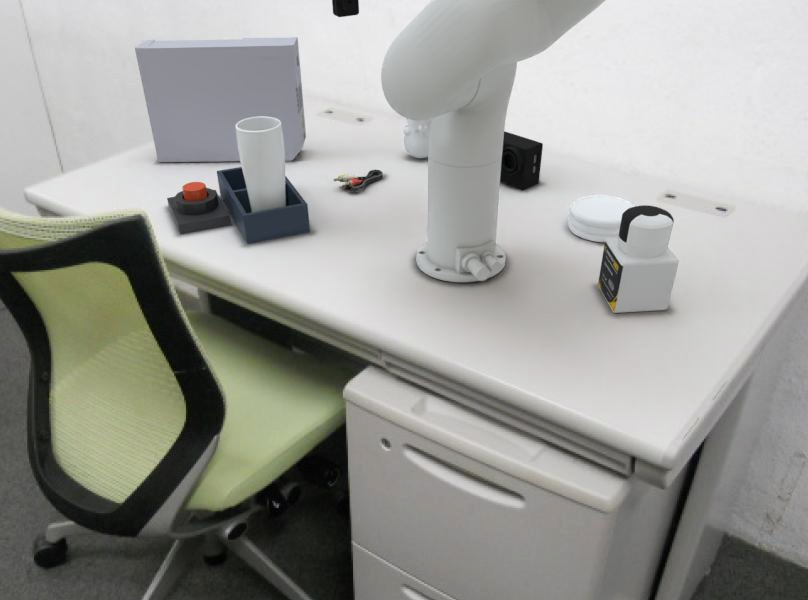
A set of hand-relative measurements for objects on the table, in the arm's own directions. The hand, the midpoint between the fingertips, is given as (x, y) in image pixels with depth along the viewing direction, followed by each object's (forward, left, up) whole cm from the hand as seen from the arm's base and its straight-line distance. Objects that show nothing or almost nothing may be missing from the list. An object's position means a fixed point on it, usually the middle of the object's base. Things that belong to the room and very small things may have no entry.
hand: (346, 14), depth 105 cm
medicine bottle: (-39, -24, -29) cm, 54 cm away
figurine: (+19, -19, -29) cm, 40 cm away
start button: (+10, +23, -26) cm, 36 cm away
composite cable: (+11, -5, -29) cm, 32 cm away
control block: (+10, +23, -29) cm, 39 cm away
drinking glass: (+2, +13, -29) cm, 32 cm away
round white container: (-20, -32, -29) cm, 48 cm away
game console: (+34, +12, -29) cm, 47 cm away
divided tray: (+7, +13, -29) cm, 33 cm away
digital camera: (+3, -28, -29) cm, 41 cm away
